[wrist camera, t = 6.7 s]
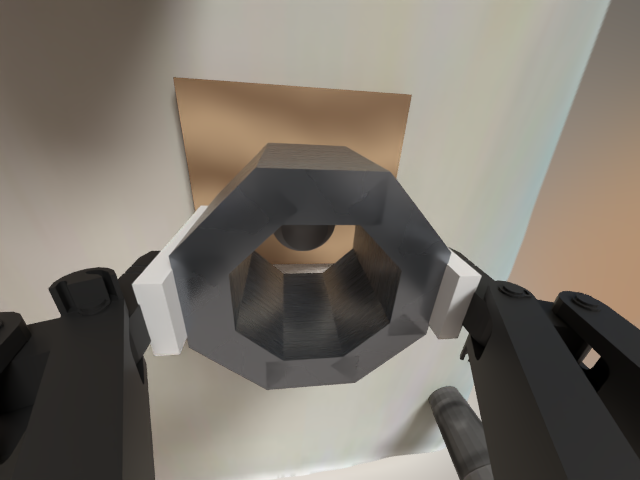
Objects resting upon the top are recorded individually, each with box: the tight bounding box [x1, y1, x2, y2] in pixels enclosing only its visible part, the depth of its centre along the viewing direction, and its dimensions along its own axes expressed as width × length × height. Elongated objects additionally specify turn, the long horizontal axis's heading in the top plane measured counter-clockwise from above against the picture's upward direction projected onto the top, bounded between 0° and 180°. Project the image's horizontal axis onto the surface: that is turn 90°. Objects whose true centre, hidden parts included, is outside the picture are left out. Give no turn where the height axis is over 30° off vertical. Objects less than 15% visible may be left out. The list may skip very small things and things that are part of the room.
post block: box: [173, 77, 412, 264], centre depth 18 cm, size 14×16×9 cm
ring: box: [169, 143, 451, 390], centre depth 12 cm, size 9×9×6 cm
